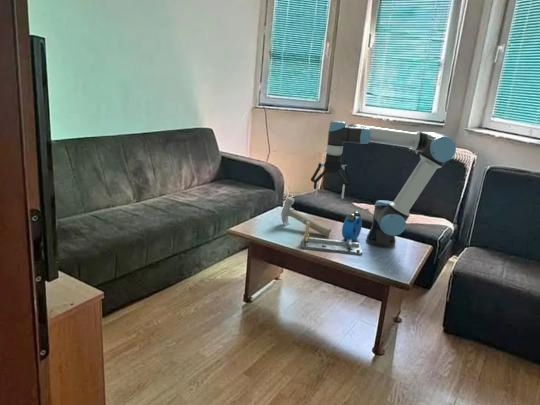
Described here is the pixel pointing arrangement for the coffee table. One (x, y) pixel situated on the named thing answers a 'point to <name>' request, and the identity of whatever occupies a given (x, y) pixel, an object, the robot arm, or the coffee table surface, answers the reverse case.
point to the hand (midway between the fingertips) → (329, 196)
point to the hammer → (302, 218)
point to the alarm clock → (352, 226)
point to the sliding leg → (306, 233)
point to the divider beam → (335, 242)
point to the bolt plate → (331, 247)
